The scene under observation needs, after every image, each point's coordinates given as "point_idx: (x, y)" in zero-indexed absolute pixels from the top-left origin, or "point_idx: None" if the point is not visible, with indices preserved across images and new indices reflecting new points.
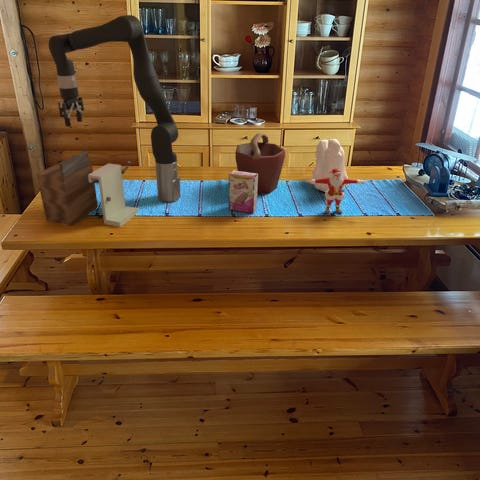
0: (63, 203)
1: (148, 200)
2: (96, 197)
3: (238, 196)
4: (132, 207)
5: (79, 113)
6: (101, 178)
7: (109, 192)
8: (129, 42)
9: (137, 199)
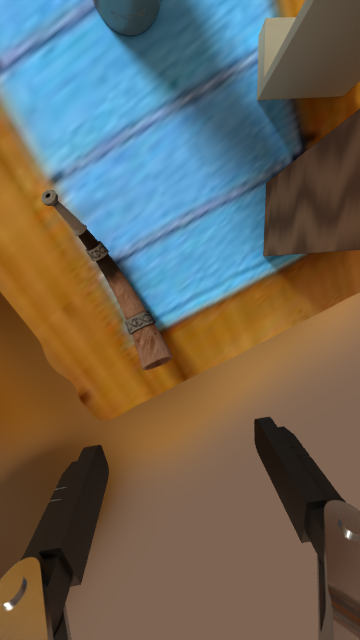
0: None
1: (172, 59)
2: (284, 169)
3: None
4: (266, 43)
5: (59, 560)
6: None
7: None
8: None
9: (180, 104)
